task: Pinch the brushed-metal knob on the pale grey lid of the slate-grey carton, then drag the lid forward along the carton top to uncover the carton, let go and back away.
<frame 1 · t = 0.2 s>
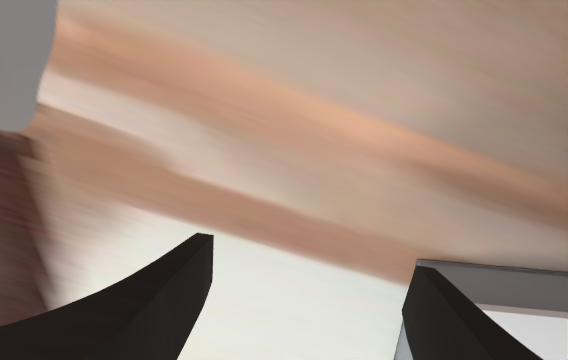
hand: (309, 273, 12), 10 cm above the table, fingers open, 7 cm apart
carton: (494, 344, 25), on the table
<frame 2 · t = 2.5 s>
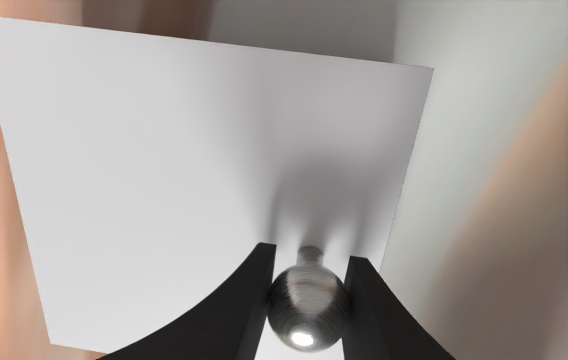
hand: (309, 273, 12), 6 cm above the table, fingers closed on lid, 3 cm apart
lid: (178, 266, 11), point 6 cm above the table, slide at 0.0 cm, touching gripper
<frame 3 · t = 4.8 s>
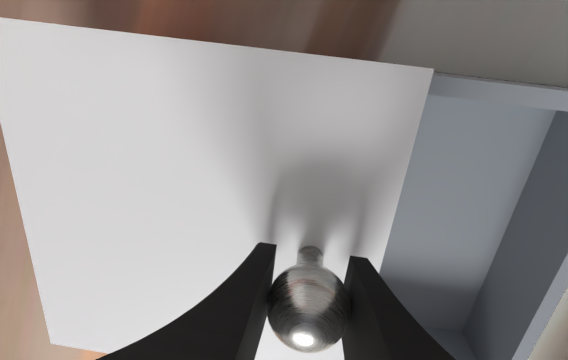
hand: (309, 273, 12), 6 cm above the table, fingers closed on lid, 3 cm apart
lid: (178, 266, 11), point 6 cm above the table, slide at 7.5 cm, touching gripper
carton: (370, 211, 17), on the table
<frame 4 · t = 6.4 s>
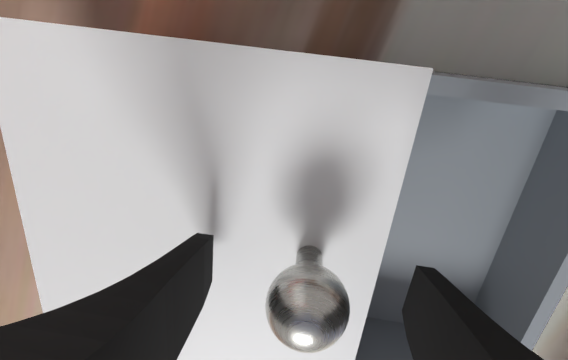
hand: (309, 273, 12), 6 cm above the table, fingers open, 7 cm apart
lid: (177, 266, 11), point 6 cm above the table, slide at 7.5 cm
carton: (370, 211, 17), on the table
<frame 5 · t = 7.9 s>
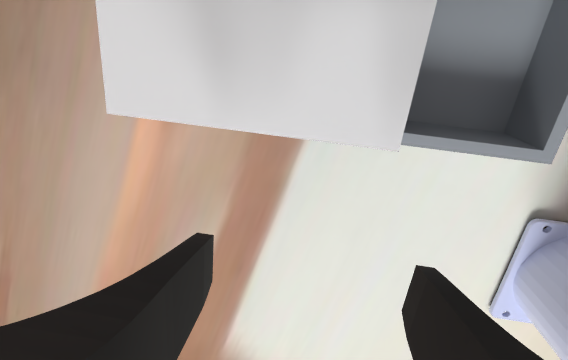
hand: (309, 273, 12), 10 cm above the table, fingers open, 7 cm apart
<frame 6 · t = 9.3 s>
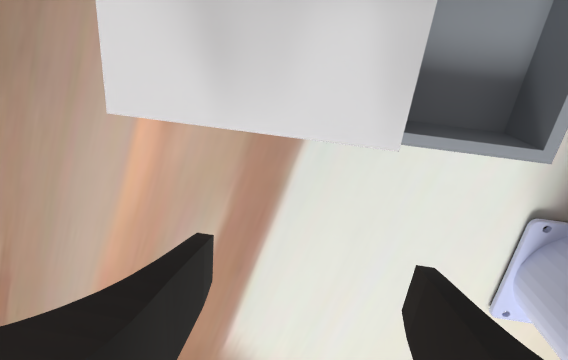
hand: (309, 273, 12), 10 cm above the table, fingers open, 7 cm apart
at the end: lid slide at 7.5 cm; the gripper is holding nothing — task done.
